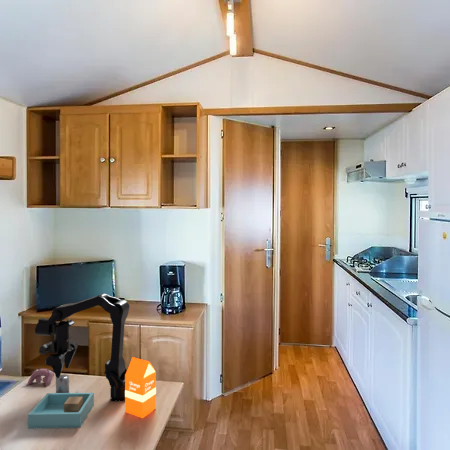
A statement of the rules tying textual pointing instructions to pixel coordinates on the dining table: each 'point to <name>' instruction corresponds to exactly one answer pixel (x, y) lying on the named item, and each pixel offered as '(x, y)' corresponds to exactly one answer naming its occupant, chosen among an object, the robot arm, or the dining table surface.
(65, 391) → the steel cylinder
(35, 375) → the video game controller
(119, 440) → the dining table surface
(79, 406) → the walnut cube
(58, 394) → the tote
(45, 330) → the robot arm
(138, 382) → the orange juice
